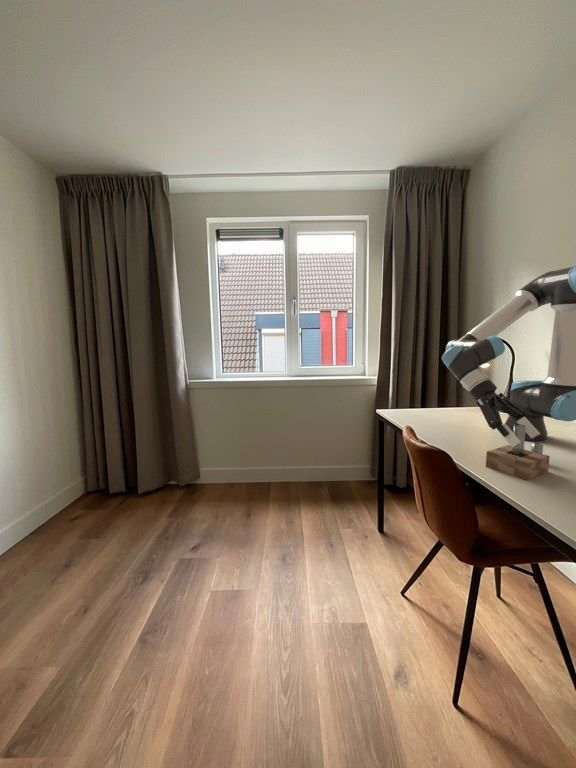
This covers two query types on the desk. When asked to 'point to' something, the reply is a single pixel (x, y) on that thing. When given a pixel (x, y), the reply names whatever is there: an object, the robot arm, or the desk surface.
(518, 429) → the long pin
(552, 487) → the desk surface
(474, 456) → the desk surface
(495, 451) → the block
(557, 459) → the desk surface
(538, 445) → the short pin
